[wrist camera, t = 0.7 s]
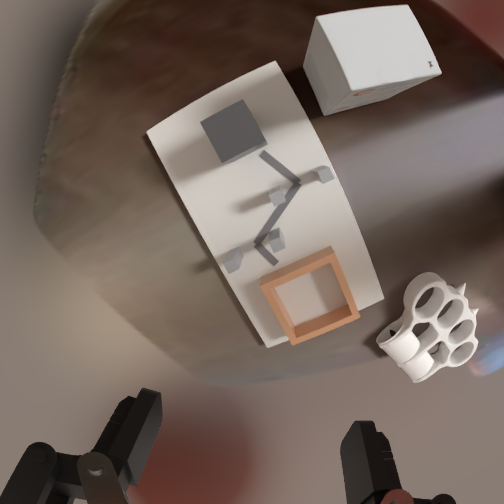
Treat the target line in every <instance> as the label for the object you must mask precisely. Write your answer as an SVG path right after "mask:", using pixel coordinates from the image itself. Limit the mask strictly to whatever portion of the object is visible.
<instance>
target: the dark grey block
mask: <svg viewBox="0 0 504 504" xmlns="http://www.w3.org/2000/svg"><path fill="white" fill-rule="evenodd" d="M200 123H201V125H202V127H203V129H204V131H205V133H206V135H207V136H208V138H209V140H210V142H211V144H212V146H213V148H214V149H215V151H216V153H217V155H218V157H219V159H220V161H221V163H228V162H234V161H236V160H238V159H240V158H242V157H244V156H246V155H248V154H250V153H252V152H254V151H256V150H258V149H260V148H262V147H264V146H266V145H268V143H267V141H266V139H265V137H264V135H263V134H262V132H261V130H260V128H259V126H258V124H257V122H256V121H255V119H254V117H253V115H252V113H251V112H250V110H249V108H248V107H247V105H246V103H245V102H244V100H243V99H242V100H240V101H238V102H236V103H234V104H232V105H230V106H228V107H226V108H224V109H223V110H221V111H219V112H217V113H215V114H213V115H212V116H210V117H208V118H206V119H204V120H203V121H201V122H200Z"/></svg>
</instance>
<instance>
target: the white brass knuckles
mask: <svg viewBox="0 0 504 504" xmlns="http://www.w3.org/2000/svg"><path fill="white" fill-rule="evenodd" d="M465 285H466V283H465V284H463V285H461V286H459V287H457V288H456V289H455V288H454V287H452V286H447V285H446V282H445V281H444V280H443V279H442V278H440V277H439V276H438V275H437V274H436V273H433V272H425V273H422V274H420V275H418V276H416V277H415V278H414V279H413V280H412V281H411V282H410V283H409V285H408V286H407V288H406V290H405V293H404V298H403V302H404V307H405V309H404V311H403V314H402V316H401V317H400V318H399V319H398V320H396V321H394V322H393V323H391V324H390V325H389V326H387V327H386V328H385V329H384V330H383V331H382V332H381V333H380V334H379V336H378V337H377V339H376V342H377V343H378V345H379V347H380V348H381V349H383V350H384V351H385V352H386V353H387V354H388V355H389V356H390V357H391V358H392V359H393V360H394V361H395V363H396V364H397V366H398V367H400V368H401V369H402V370H403V371H404V372H405V373H406V374H407V375H408V376H409V378H410V379H411V380H412V382H415V383H417V382H421V381H423V380H425V379H426V378H428V377H429V376H431V375H432V374H433V373H435V372H436V371H437V370H438V369H440V368H441V367H444V366H449V367H457V366H460V365H462V364H463V363H465V362H466V361H467V360H469V359H470V358H471V356H472V355H473V354H474V352H475V350H476V348H477V345H478V340H477V339H476V338H475V336H474V332H475V328H476V325H477V324H476V316H475V315H476V313H477V311H478V309H469V307H468V300H467V299H466V298H465V297H464V296H463V295H464V290H465ZM432 287H434V291H433V294H432V296H431V297H430V299H429V300H428V301H427V303H426V304H425V305H423V306H422V307H420V308H415V306H416V303H417V301H418V300H419V298H420V297H421V295H422V294H423V293H424V292H425V291H426V290H427V289H429V288H432ZM451 300H453V302H452V304H451V306H450V308H449V309H448V311H447V312H446V313H445V314H444V315H443V316H441V317H439V318H437V317H438V315H439V313H440V311H441V310H442V309H443V307H444V306H445V305H446V304H447V303H448V302H449V301H451ZM462 321H463V322H462ZM426 322H429V327H428V329H427V330H425V331H424V332H423V333H422V334H421V335H420V336H418V337H417V338H416V336H415V335H414V334H413V332H412V329H413V327H414V325H415V324H417V323H426ZM460 322H462V324H461V325H460V327H459V328H458V329H456V330H455V331H453V332H451V333H450V331H451V330H452V329H453V327H454V326H456V325H457V324H459V323H460ZM390 330H393V331H395V332H396V334H395V335H394V336H393V337H392V336H391V335H390ZM439 341H441V344H440V345H439V346H438V349H437V351H435V352H434V353H431V354H429V353H428V352H427V351H428V350H429V349H430V348H432V347H433V346H434V345H435V344H436V343H438V342H439ZM460 345H461V347H460V348H459V349H457V350H456V351H454V350H455V349H456V348H457V347H459V346H460Z"/></svg>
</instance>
